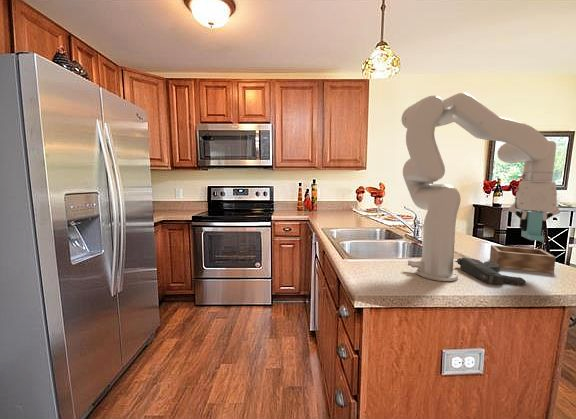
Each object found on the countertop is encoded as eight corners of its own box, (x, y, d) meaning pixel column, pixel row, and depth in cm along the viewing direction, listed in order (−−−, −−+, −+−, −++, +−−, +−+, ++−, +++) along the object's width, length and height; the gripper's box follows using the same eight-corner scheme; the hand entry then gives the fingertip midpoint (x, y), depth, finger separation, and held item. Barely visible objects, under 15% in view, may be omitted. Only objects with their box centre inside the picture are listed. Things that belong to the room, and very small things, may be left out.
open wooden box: (497, 266, 103) (498, 251, 103) (489, 259, 114) (490, 245, 114) (553, 273, 96) (555, 256, 95) (540, 264, 107) (541, 249, 106)
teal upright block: (530, 239, 89) (533, 213, 89) (521, 235, 97) (523, 211, 97) (543, 241, 88) (547, 213, 87) (533, 237, 96) (536, 211, 95)
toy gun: (494, 258, 102) (453, 253, 103) (536, 278, 83) (486, 272, 84) (491, 270, 103) (451, 265, 104) (533, 292, 84) (483, 286, 85)
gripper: (510, 177, 92) (504, 230, 94) (575, 178, 85) (568, 235, 87) (504, 178, 99) (498, 227, 101) (564, 178, 92) (558, 232, 93)
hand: (531, 230), depth 94 cm, fingers closed on teal upright block, 3 cm apart
